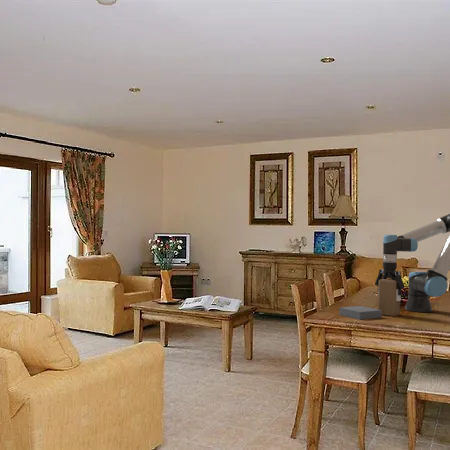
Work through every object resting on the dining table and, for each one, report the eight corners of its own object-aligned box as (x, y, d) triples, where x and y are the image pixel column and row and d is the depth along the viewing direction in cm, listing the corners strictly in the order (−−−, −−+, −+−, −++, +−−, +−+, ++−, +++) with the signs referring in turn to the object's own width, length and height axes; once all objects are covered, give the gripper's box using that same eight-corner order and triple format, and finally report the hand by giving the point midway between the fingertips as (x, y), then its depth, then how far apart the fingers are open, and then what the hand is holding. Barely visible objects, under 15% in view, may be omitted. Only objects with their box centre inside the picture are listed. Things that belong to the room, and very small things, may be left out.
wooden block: (400, 314, 298) (400, 279, 298) (395, 316, 290) (396, 280, 290) (382, 312, 304) (383, 278, 304) (377, 314, 295) (378, 279, 295)
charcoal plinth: (360, 312, 301) (360, 305, 301) (381, 317, 287) (381, 310, 287) (339, 314, 293) (339, 307, 293) (359, 319, 279) (359, 312, 279)
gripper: (369, 260, 306) (368, 296, 306) (402, 263, 284) (401, 302, 284) (378, 260, 309) (377, 296, 309) (411, 263, 288) (411, 302, 288)
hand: (389, 299), depth 297 cm, fingers closed on wooden block, 13 cm apart
